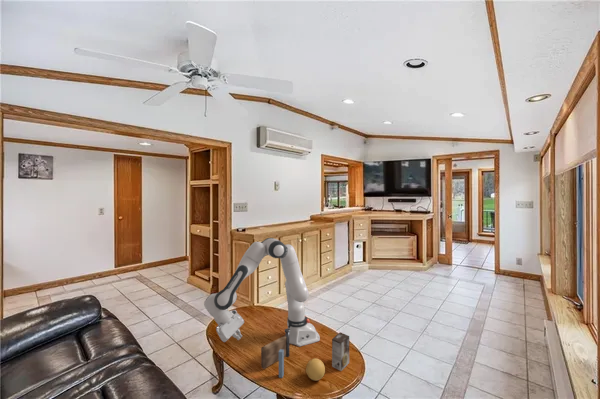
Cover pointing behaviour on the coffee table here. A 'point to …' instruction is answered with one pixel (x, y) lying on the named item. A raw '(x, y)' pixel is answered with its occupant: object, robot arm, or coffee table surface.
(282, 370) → the post
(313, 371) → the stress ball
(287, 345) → the hinge post
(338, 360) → the coffee box
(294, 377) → the coffee table surface
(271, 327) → the coffee table surface
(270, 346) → the wooden gate panel
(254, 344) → the coffee table surface
